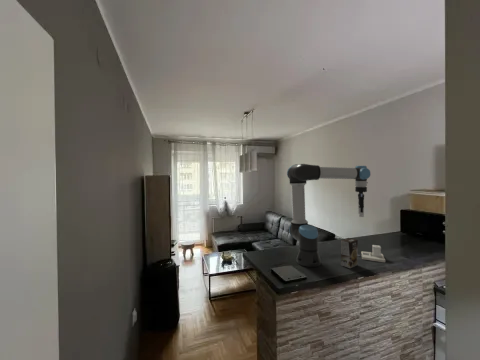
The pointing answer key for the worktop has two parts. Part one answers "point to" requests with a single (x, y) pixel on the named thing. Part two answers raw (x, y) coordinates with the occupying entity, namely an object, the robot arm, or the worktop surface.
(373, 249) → the charger
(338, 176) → the robot arm
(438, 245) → the worktop surface
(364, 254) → the outlet plate
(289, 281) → the worktop surface
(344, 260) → the coffee box
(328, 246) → the worktop surface
